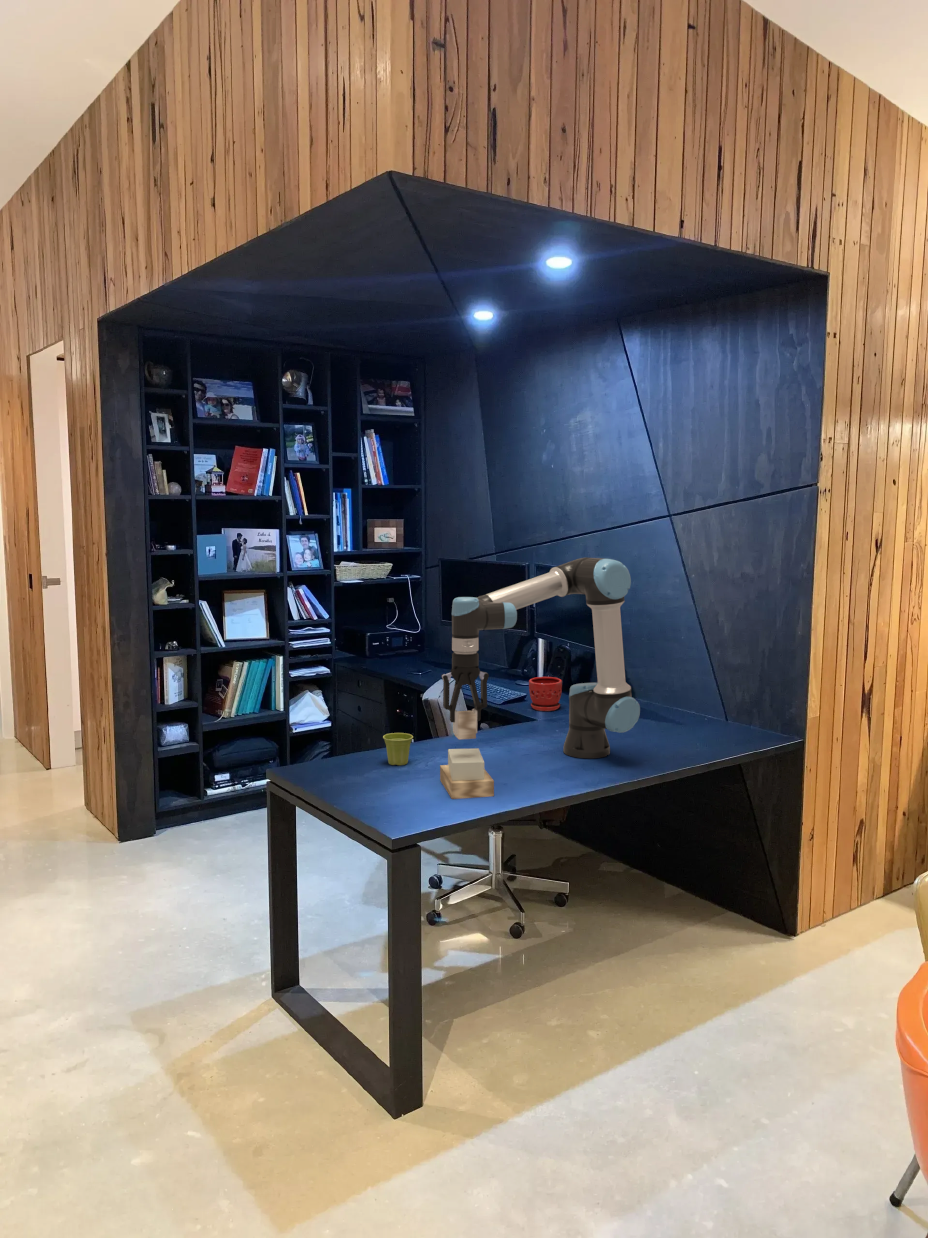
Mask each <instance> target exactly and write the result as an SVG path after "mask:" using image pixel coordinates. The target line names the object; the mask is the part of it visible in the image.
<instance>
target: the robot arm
mask: <svg viewBox="0 0 928 1238" xmlns="http://www.w3.org/2000/svg"><path fill="white" fill-rule="evenodd" d="M631 584H632V579H631V574H630V571H629V569H628V567H627V566H626V565H625V564H624V563H623V562H621V561H619V560H615V559H612V558H603V557H602V558H601V557H581V558H577V559H574V560H570V561H568V562H566V563H565V562H564V563H563V564H560V565H557V566H554V567H551V568H550V570H549V572H547V573H544V574H541V575H538V576H535V577H533V578H529V579H526V580H523V581H520V582H518V583H515V584H512V585H509V586H506V587H502V588H500V589H497V590H495V591H492V592H489V593H486V594H483V595H479V596H478V597H477V596H476V597H473V596H458V597H455V598H454V599H453V600H452V605H451V607H452V608H451V633H452V634H451V650H452V651H453V652H452V653H451V657H452V658H451V670H450V672H447V673H446V674H445V673H443V674H441V679H442V683H443V684H442V685H443V686H442V687H443V689H442V690H443V692H442V693H443V694H442V697H443V698H442V707H443V708H444V709H445V710H447V711H449V721H450V723H452V732H453V734H458V710H457V705H458V700H459V697H460V693H461V689H462V687H463V686H465V685H468V686H469V689H470V694H471V697H472V700H473V701H472V702H473V706H474V708H472V709H471V711H472V712H474V713H475V714H476V734H478V722H480V721H481V718H482V717H481V715H482V714H481V712H482V709H484V708H488V707H487V706H488V680H489V677H490V674H489V673H488V672H486V671H481V670H480V667H479V662H480V660H479V659H480V658H479V655H480V654H479V653H478V651H479V649H480V648H479V636H480V635H479V633H480V631H484V630H485V631H487V630H505V629H512V628H514V626H516V623H517V620H518V611H517V610H519V609H523V608H525V607H528V606H530V605H533V604H536V603H539V602H542V601H545V600H548V599H550V598H553V597H555V596H558V597H561V598H564V597H565V596H569V595H585V601H586V602H585V603H586V605H587V607H589V608H590V609H591V613H592V614H591V615H592V625H593V627H592V629H593V638H594V639H593V640H594V653H595V666H596V677H597V682H584V683H583V682H581V683H576V684H573V685H571V686H570V688H569V694H568V700H569V701H568V707H569V708H568V710H569V711H568V720H569V721H568V731H567V734H566V737H565V741H564V744H563V753H564V754H565V755H566V756H569V757H572V758H579V759H600V758H605V757H607V755H608V756H609V755H610V753H611V747H610V742H609V740H608V736H607V733H606V730H608V731H610V732H612V733H613V732H614V733H615V732H616V733H620V734H621V733H626V732H629V731H630V730H632V728H634V727H635V724H636V723H637V722H638V721H639V718H640V713H641V706H640V703H639V702H638V701H637V700H636V699H635V697H632V686H631V685H630V684H628V683H627V682H626V671H625V669H626V668H625V658H624V657H625V656H624V643H623V642H624V641H623V629H622V617H621V615H622V614H621V607H622V605H623V604H624V603H625V602H626V601H625V596H626V595H627V594H628V593H629V590H630V589H631ZM451 677H452V678H453V680H454V686H453V687H454V688H453V691H452V695H451V699H450V685H451V684H450V681H451ZM478 677H479V679H480V697H479V694H478V690H477V685H476V681H477V678H478Z"/></svg>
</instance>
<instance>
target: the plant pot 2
mask: <svg viewBox="0 0 928 1238" xmlns="http://www.w3.org/2000/svg"><path fill="white" fill-rule="evenodd" d="M562 690H563V680H562V679H560V678H558V677H555V676H554V677H553V676H537V677H532V678H530V679H529V680H528V691H529V697H530V700H531V703H530V706H531V708H532V709H534V710H536V711H541V712H551V711H556V710H558V709H559V708H560V706H561V704H560V703H559V702H560V699H561V696H562V693H563V691H562Z"/></svg>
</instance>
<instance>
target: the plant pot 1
mask: <svg viewBox="0 0 928 1238" xmlns="http://www.w3.org/2000/svg"><path fill="white" fill-rule="evenodd" d="M382 739H383V740H384V743H385V747H386V757H387V762H388V765H391V766H395V765H397V766H400V767H401V766H405V765H407V764H408V763H409V757H410V756H409V755H410V749H411V743H412V741H413V739H414V736H413V735H412V734H410V733H406V732H405V733H404V732H394V733H393V732H391V733H386V734H384V735H383V736H382Z"/></svg>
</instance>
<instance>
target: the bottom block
mask: <svg viewBox="0 0 928 1238" xmlns="http://www.w3.org/2000/svg"><path fill="white" fill-rule="evenodd" d="M439 775H440V776H439V780H440V782H441V785H443V787H444V789H445V790H446V792H447V793H448V795H449V797H450V799H452V800H458V799H459V800H460V799H472V798H473V799H475V798H476V799H477V798H486V797H494V796H495V780H494V778H492V776H491V775H490V774H489V773H488V771H487V770H486V769H485V768H484V780H457V781H452V778H451V774H450V771H449V767H448V764H442V765H441V764H440V765H439Z"/></svg>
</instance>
